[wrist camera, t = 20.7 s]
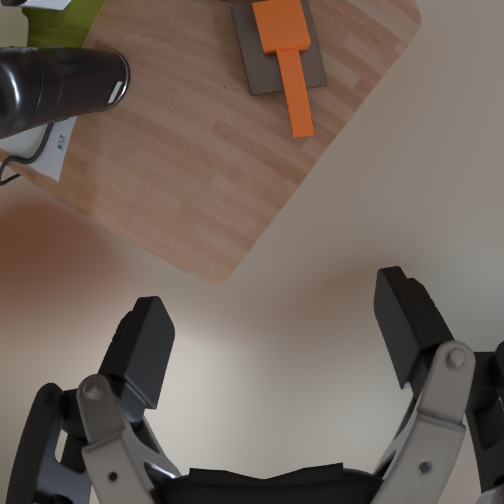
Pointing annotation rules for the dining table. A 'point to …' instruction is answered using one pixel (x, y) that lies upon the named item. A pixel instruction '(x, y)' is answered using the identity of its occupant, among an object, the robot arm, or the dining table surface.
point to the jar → (37, 4)
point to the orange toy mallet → (287, 55)
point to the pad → (274, 54)
